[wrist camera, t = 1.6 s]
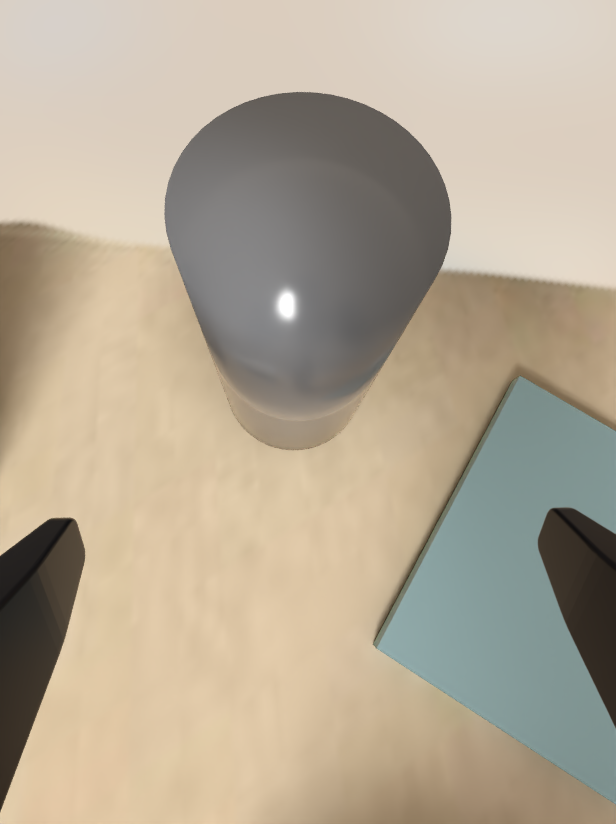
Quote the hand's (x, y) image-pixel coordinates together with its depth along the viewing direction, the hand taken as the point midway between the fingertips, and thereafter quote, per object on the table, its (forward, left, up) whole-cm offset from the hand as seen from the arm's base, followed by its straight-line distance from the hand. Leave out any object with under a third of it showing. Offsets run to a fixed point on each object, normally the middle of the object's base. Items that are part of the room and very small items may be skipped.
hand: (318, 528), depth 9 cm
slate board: (+5, -11, -13) cm, 18 cm away
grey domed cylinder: (+6, +4, -13) cm, 15 cm away
